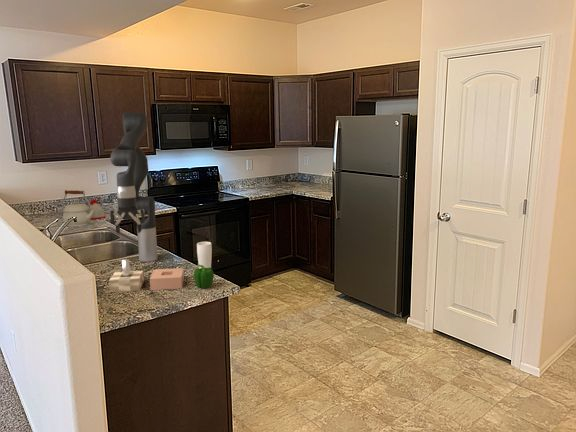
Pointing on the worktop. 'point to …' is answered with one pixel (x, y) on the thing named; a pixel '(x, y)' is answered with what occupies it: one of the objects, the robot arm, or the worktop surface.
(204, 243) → the drinking glass
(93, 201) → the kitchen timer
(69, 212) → the kettle
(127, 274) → the lock pin
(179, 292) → the worktop surface
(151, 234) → the robot arm
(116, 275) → the mount block
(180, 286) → the dock block
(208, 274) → the bell pepper
